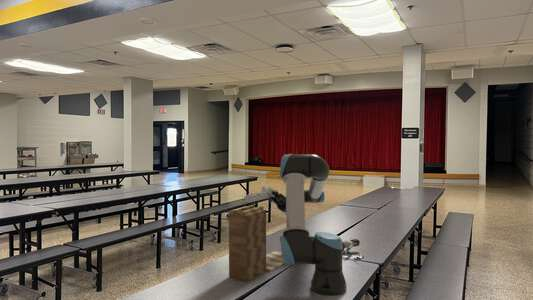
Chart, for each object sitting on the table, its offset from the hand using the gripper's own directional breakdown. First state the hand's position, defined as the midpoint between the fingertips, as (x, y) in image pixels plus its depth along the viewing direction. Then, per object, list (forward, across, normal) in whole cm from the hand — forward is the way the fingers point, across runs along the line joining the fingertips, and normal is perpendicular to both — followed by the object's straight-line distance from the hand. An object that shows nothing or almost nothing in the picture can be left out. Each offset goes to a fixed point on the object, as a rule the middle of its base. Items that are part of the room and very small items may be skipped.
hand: (265, 189), depth 185 cm
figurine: (-52, -22, -15) cm, 58 cm away
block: (+1, 0, -5) cm, 5 cm away
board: (-25, -1, -30) cm, 39 cm away
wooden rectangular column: (-6, 0, -41) cm, 42 cm away
